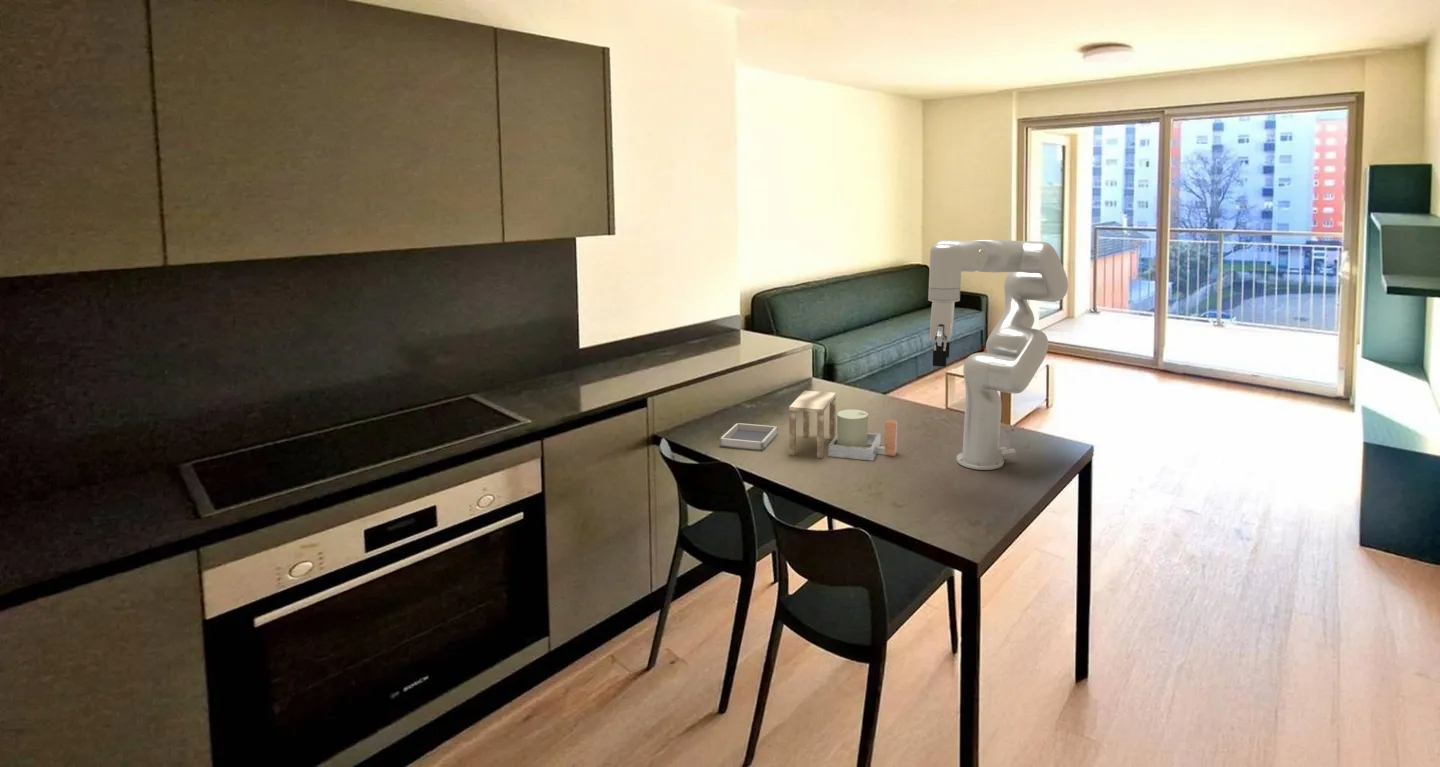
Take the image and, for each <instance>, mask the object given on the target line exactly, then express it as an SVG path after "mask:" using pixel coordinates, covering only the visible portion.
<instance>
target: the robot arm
mask: <svg viewBox="0 0 1440 767" xmlns="http://www.w3.org/2000/svg"><path fill="white" fill-rule="evenodd" d="M962 272H971V273H973V272H979V273H1008V274H1007V275H1006V277H1005V280H1004V285H1003V287H1004V288H1003V290H1004V306H1005V307H1004V312H1003V314H1002V315H1001V317H1000V318H999V320H998V322H997V323H996V324H995V326H994V327H993V329H992V331H991V333H990V334H989V336H988V338H987V340H986V343H985V344H986V345H985V349H986V351H987V352H975V353H971V355H969V356H968V357H967V358H966V359H965V362H964V363H963V380H964V386H965V402H964V404H965V405H964V407H965V408H964V422H963V438H962V439H963V441H962V452H960V453H958V454H957V455H956V463H957V464H959V465H961V467H964V468H968V469H972V470H978V471H979V470H980V471H990V470H991V471H992V470H998V469H1000V468H1002V467H1003V466H1004V459H1003V458H1005V457H1006V456H1007V457H1008V456H1009V457H1010V456H1011V457H1013V456H1016V450H1015V448H1007V447H1006V446H1002V447H1001V446H1000V434H1001V421H1002V420H1001V419H1002V406H1003V403H1002V399H1001V396H1000V395H999V392H1001V393H1008V394H1014V395H1016V394H1017V395H1018V394H1021V393H1022V392H1024V391H1025V390H1026V389H1027V388H1028V386H1029V385H1030V383H1031V381H1032V380H1033V378H1034V377H1035V375H1036V374H1037V372H1038V370H1039V369H1040V367H1041V365H1042V363H1043V362H1044V360H1045V358H1046V356H1047V353H1048V349H1049V339H1048V336H1047V334H1046V333H1045V332H1043V331H1042V330H1040V329H1036V328H1032V327H1033V325H1034V323H1035V316H1034V313H1033V310H1032V309H1031V306H1030V305H1029V303H1028V301H1037V302H1046V303H1047V302H1048V303H1057V302H1060V301H1061V300H1063V299H1064V298H1065V296H1066V295H1067V293H1068V290H1069V289H1068V288H1069V281H1068V276H1067V274H1066V271H1065V268H1064V266H1063V264H1062V261H1061V259H1060V257H1059V254H1058V253H1057V250H1056V249H1055V248H1054V247H1053V245H1052V244H1050V243H1048V242H1045V241H1032V240H1031V241H1028V240H1007V239H1005V240H1003V239H979V240H958V239H957V240H956V239H955V240H953V239H950V240H949V239H941V240H938V241H937V242H935V244H933V245H932V246H931V248H930V250H929V272H928V273H929V274H928V276H929V277H928V297H927V298H928V299H927V301H929V302H932V303H931V309H930V310H931V311H930V322H929V324H930V325H929V338H928V339H929V341H930V342H932V341H934V346H933V350H932V366H934V367H943V368H944V367H946V366H947V359H948V358H949V357H950V343H951V342H950V340H951V337H952V333H953V327H954V326H953V325H954V316H955V303H957V302H960V301H961V283H962Z"/></svg>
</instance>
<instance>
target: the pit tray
mask: <svg viewBox="0 0 1440 767" xmlns="http://www.w3.org/2000/svg"><path fill="white" fill-rule="evenodd" d="M778 435H779V426H776V425H764V424H754V423H753V424H752V423H743V422H742V423H741V422H739V423H738V422H736V423H735V424H734V425H733V426H732V427H731V428H729V430H727V431H726V432H725V433H724V434H723V435H722V436H720V438H719V447H720V448H728V449H737V450H746V451H747V450H748V451H757V452H764V451H765V450H766V449H767V448H768V446H769V445H770V444H771V443H772V442H773V440H774V439H775V438H776V437H777V436H778Z"/></svg>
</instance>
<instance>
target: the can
mask: <svg viewBox="0 0 1440 767" xmlns="http://www.w3.org/2000/svg"><path fill="white" fill-rule="evenodd" d="M836 418H837V421H836V422H837V423H836V427H837V429H836V430H837V432H836V433H837V445H844V446H855V447H866V448H868V445H867V433H868V425H869V424H868V423H869V422H868V420H869V414H868V412H867V411H864V410H860V409H854V408H853V409H843V410H840V411H838V412H836Z"/></svg>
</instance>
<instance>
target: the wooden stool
mask: <svg viewBox="0 0 1440 767" xmlns="http://www.w3.org/2000/svg"><path fill="white" fill-rule="evenodd" d="M836 404H837V393H836V392H831V391H830V392H828V391H815V390H803V392H802V393H801V394H800V395H799V396H797V398H796V399H795V400H794V401H793V402H792V403H791V404H790V405H789V407H788V419H789V420H788V421H789V422H788V424H789V425H788V427H789V428H788V429H789V430H788V432H789V433H788V434H789V435H788V436H789V440H788V442H789V443H788V444H789V445H788V446H789V456H796V455H797V411H798V412H802V425H803V426H802V433H803V434H802V435H803V436H802V438H804V439H805V438H807V439H808V438H809V437H810V413H817V415H816V417H817V418H816V420H817V421H816V426H817V427H816V432H817V433H816V440H817V441H816V442H817V443H816V448H817V449H816V450H817V451H816V458H817V459H824V457H825V450H824V449H825V446H824V445H825V444H824V443H825V440H824V439H825V410H826V409H827V408H828V406H829V425H828V426H829V428H828V430H829V432H828V433H829V436H828V439H829V440H830V441H832V439H833V438H834V436H835V435H836V430H837V429H836V427H837V423H836V422H837V421H836V418H837V412H836V411H837V405H836Z"/></svg>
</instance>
